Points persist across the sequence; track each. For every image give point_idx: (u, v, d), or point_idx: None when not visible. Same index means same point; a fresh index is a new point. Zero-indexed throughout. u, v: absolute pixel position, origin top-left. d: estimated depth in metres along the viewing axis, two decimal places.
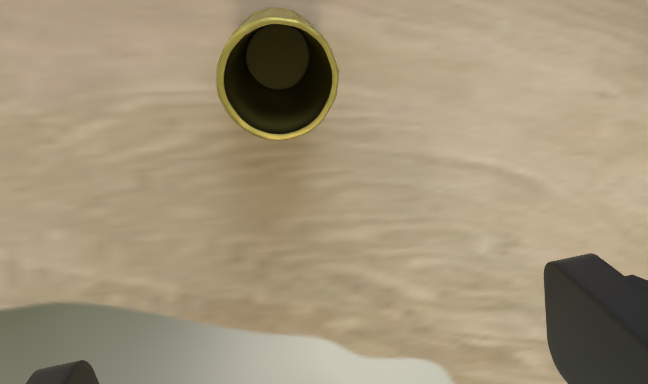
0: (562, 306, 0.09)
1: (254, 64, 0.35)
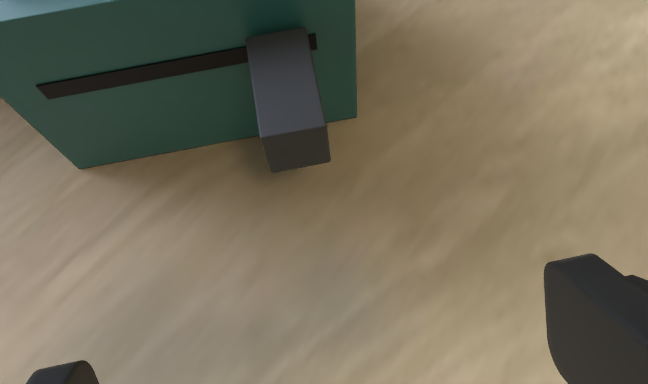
0: (562, 306, 0.09)
1: None
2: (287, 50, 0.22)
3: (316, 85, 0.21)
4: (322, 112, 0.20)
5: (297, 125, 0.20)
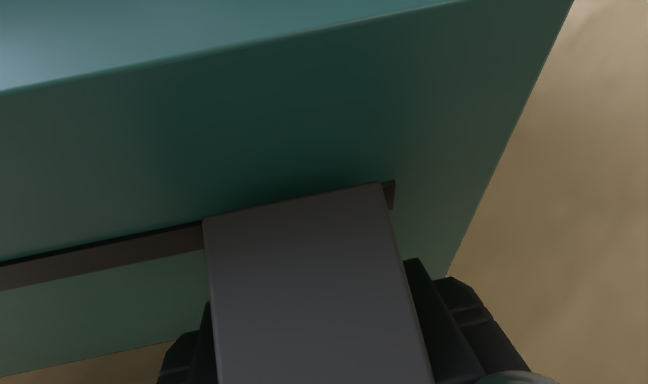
0: None
1: None
2: (330, 264, 0.07)
3: None
4: None
5: None
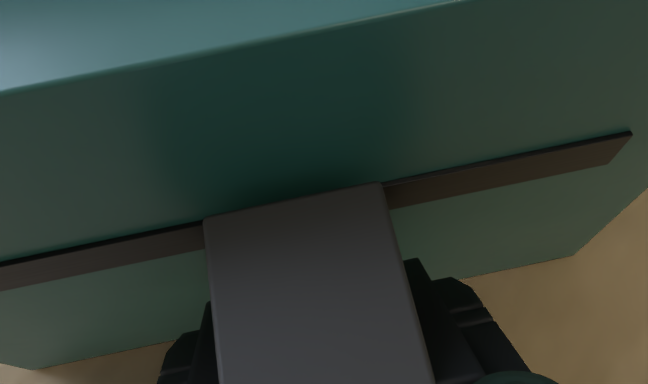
0: None
1: None
2: (331, 264, 0.07)
3: None
4: None
5: None
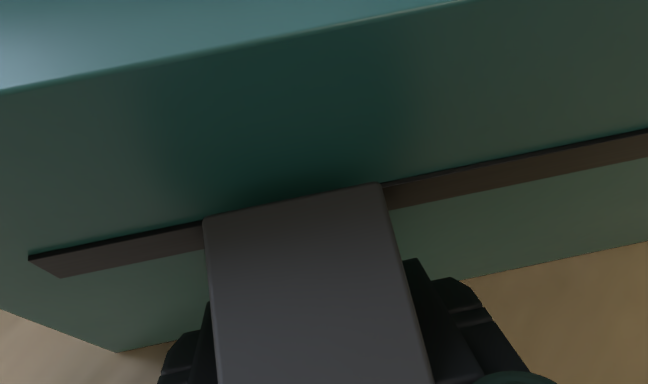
0: None
1: None
2: (330, 264, 0.07)
3: None
4: None
5: None
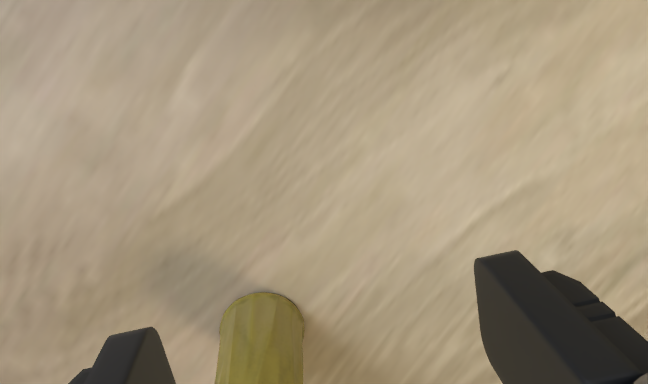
0: (487, 300, 0.09)
1: None
2: None
3: None
4: None
5: None
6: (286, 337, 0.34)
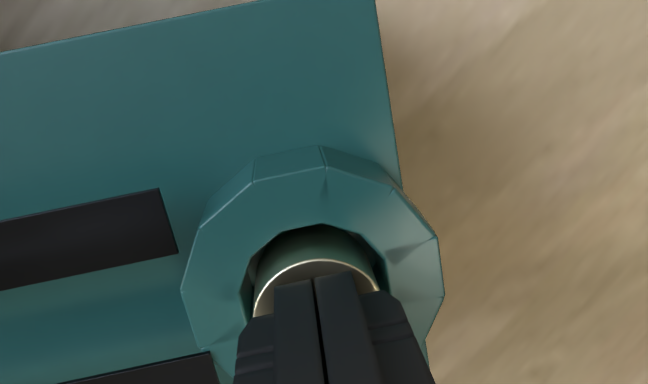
0: None
1: None
2: None
3: None
4: None
5: None
6: None
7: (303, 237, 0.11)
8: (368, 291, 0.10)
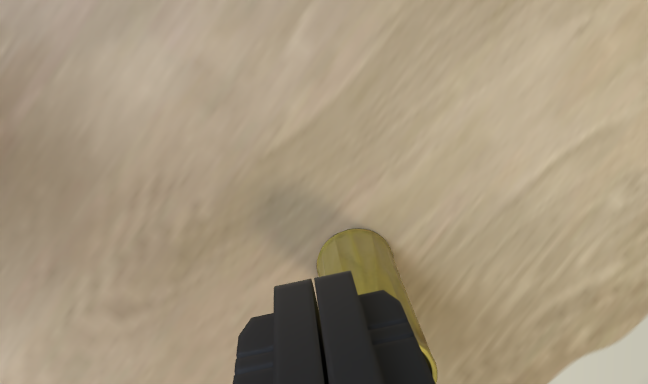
0: None
1: None
2: None
3: None
4: None
5: None
6: (387, 263, 0.38)
7: None
8: None
